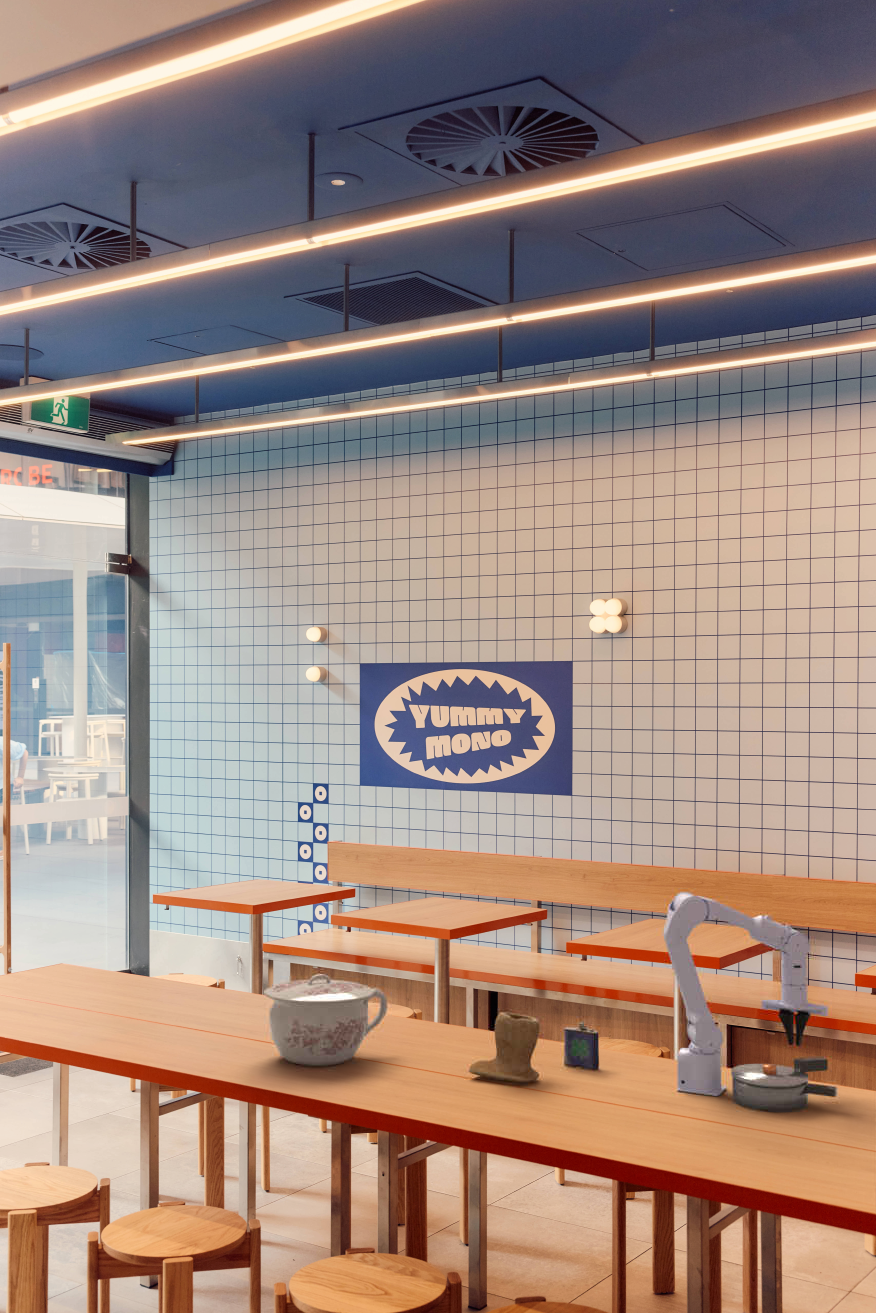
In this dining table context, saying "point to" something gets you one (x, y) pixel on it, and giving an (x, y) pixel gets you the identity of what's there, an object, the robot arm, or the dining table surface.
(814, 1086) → the cooker pot
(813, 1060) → the cooker lid
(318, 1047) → the chamber pot
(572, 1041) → the flask
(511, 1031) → the brown boot
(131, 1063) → the dining table surface
